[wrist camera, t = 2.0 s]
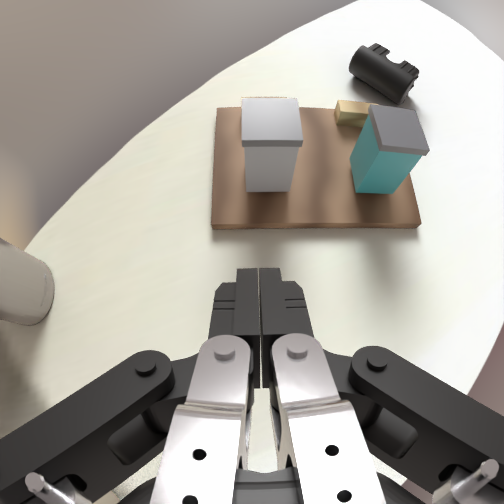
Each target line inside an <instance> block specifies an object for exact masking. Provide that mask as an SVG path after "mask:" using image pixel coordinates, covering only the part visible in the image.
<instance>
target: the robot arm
mask: <svg viewBox="0 0 504 504" xmlns="http://www.w3.org/2000/svg"><path fill="white" fill-rule="evenodd" d="M53 296H54V281H53V277H52V273H51V271H50V269H49V268H48V266H47V265H46V264H45V263H44V262H42V261H41V260H39V259H37V258H35V257H33V256H31V255H29V254H28V253H26V252H24V251H22V250H21V249H19V248H17V247H15V246H13V245H12V244H10V243H8V242H7V241H5V240H3V239H1V238H0V319H1V320H5V321H9V322H13V323H18V324H23V325H34V324H36V323H38V322H40V321H41V320H42V319H43V318H44V317H45V316H46V314H47V313H48V311H49V309H50V307H51V304H52V301H53ZM259 308H260V321H259ZM260 337H261V361H262V386H263V388H269V389H270V414H271V421H272V428H273V434H274V441H275V447H276V454H277V466H278V471H275V472H271V473H259V472H254V471H249V470H248V451H249V440H250V429H251V417H252V405H253V403H254V388H260ZM163 450H164V451H163ZM162 451H163V455H162V459H161V462H160V466H159V470H158V474H157V477H155V478H153V479H150V480H148V481H146V482H145V483H143V484H141V485H140V486H138V487H137V488H136V489H134V490H133V491H132V492H131V493H129V494H128V495H127V496H126V497H124V498H123V499H122V500H121V501H119V502H118V503H117V504H425V503H424V502H422V501H421V500H420V499H418V498H417V497H415V496H414V495H412V494H411V493H410V492H408V491H407V490H405V489H404V488H403V487H401V486H400V485H399V484H397V483H396V482H394V481H393V480H392V479H390V478H388V477H386V476H385V475H383V474H381V473H378V472H376V471H375V468H374V465H373V462H372V459H371V456H370V453H371V454H373V455H374V456H375V457H377V458H378V459H380V460H381V461H383V462H384V463H385V464H387V465H388V466H390V467H391V468H393V469H394V470H396V471H397V472H399V473H400V474H402V475H403V476H405V477H406V478H408V479H409V480H411V481H412V482H414V483H415V484H417V485H418V486H420V487H421V488H423V489H425V490H426V491H428V492H429V493H431V494H433V504H504V416H501V415H500V414H498V413H497V412H495V411H493V410H491V409H490V408H488V407H486V406H484V405H483V404H481V403H479V402H477V401H476V400H474V399H472V398H470V397H469V396H467V395H465V394H463V393H462V392H460V391H458V390H457V389H455V388H453V387H451V386H450V385H448V384H446V383H444V382H443V381H441V380H439V379H438V378H436V377H434V376H432V375H431V374H429V373H427V372H426V371H424V370H422V369H420V368H419V367H417V366H415V365H414V364H412V363H410V362H409V361H407V360H405V359H403V358H402V357H400V356H398V355H397V354H395V353H393V352H392V351H390V350H388V349H386V348H383V347H379V346H367V347H363V348H361V349H359V350H358V351H356V352H355V354H354V355H353V357H349V356H343V355H337V354H333V353H330V352H328V351H326V350H324V349H323V348H322V346H321V344H320V343H319V342H318V341H317V340H316V339H315V338H314V335H313V331H312V327H311V322H310V318H309V314H308V310H307V306H306V302H305V298H304V294H303V290H302V288H301V287H300V286H299V285H298V284H297V283H296V282H295V281H282V279H281V273H280V268H259V297H258V273H257V268H248V269H237V278H236V282H232V283H222V284H221V285H220V286H219V287H218V289H217V290H216V291H215V297H214V303H213V310H212V316H211V323H210V329H209V336H208V340H207V341H206V342H204V343H203V345H202V346H201V348H200V350H199V353H197V354H195V355H194V356H191V357H188V358H185V359H180V360H175V361H170V359H169V358H168V357H167V356H166V355H165V354H163V353H161V352H159V351H154V350H146V351H141V352H138V353H136V354H134V355H132V356H130V357H129V358H127V359H126V360H124V361H123V362H121V363H120V364H118V365H117V366H115V367H114V368H112V369H110V370H109V371H107V372H106V373H104V374H103V375H101V376H100V377H98V378H97V379H95V380H93V381H92V382H90V383H89V384H87V385H86V386H84V387H83V388H81V389H80V390H78V391H76V392H75V393H73V394H72V395H70V396H69V397H67V398H65V399H64V400H62V401H61V402H59V403H58V404H56V405H54V406H53V407H51V408H50V409H48V410H47V411H45V412H43V413H42V414H40V415H39V416H37V417H35V418H34V419H32V420H31V421H29V422H27V423H26V424H24V425H23V426H21V427H19V428H18V429H16V430H15V431H13V432H11V433H10V434H8V435H7V436H5V437H3V438H2V439H0V504H93V503H94V502H96V501H97V500H98V499H100V498H101V497H103V496H104V495H106V494H107V493H108V492H110V491H111V490H112V489H114V488H115V487H117V486H118V485H119V484H121V483H122V482H123V481H125V480H126V479H127V478H129V477H130V476H131V475H133V474H134V473H135V472H137V471H138V470H139V469H141V468H142V467H143V466H145V465H146V464H147V463H148V462H150V461H151V460H152V459H153V458H155V457H156V456H157V455H158V454H160V453H161V452H162ZM369 452H370V453H369Z"/></svg>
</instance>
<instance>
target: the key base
mask: <svg viewBox="0 0 504 504" xmlns="http://www.w3.org/2000/svg"><path fill="white" fill-rule="evenodd" d="M242 98H287V97H241V107H227V108H217V116H216V132H215V149H214V168H213V190H212V216H211V225H212V228H213V229H255V228H417V227H418V226H419V225H421V219H420V214H419V210H418V205H417V201H416V197H415V193H414V188H413V185H412V181H411V177H410V173H409V174H408V175H407V176H406V178H405V179H404V180H403V182H402V183H401V184H400V185H399V187H398V188H397V189H396V191H395V192H394V193H393V194H380V193H356V191H355V185H354V180H353V174H352V169H351V164H350V159H349V158H350V155H351V153H352V151H353V149H354V147H355V144H356V142H357V140H358V138H359V135H360V133H361V131H362V128H363V126H364V124H365V122H366V119H367V117H368V115H369V113H368V108H369V105H370V104H374V103H365V102H356V101H345V100H338V101H337V105H336V108H335V109H325V108H305V107H299V113H300V119H301V127H302V134H303V144H302V147H299V150H298V155H297V160H296V165H295V169H294V174H293V179H292V184H291V188H290V192H246V178H245V154H244V147H242ZM375 105H378V104H375Z"/></svg>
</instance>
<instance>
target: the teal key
mask: <svg viewBox="0 0 504 504" xmlns="http://www.w3.org/2000/svg"><path fill="white" fill-rule="evenodd" d="M368 113H369V115H368V117H367V119H366V122H365V124H364V126H363V128H362V131H361V133H360V135H359V138H358V140H357V142H356V144H355V147H354V149H353V151H352V153H351V155H350V158H349V159H350V164H351V169H352V174H353V180H354V185H355V191H356V193H380V194H393V193H394V192H395V191H396V189H397V188H398V187H399V185H400V184H401V183H402V182H403V180H404V179H405V178H406V176H407V175H408V174H409V173H410V171H411V170H412V169H413V167H414V166H415V165H416V163H417V162H418V161H419V159H420V158H421V157H422V155H423V156H426V155H427V153H428V152H429V151H430V150H429V147H428V144H427V141H426V138H425V135H424V133H423V130H422V127H421V125H420V122H419V119H418V117H417V114H416V112H415V110H410V109H404V108H397V107H390V106H383V105H375V104H370V105H369V108H368Z"/></svg>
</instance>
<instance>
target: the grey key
mask: <svg viewBox="0 0 504 504" xmlns="http://www.w3.org/2000/svg"><path fill="white" fill-rule="evenodd" d="M302 144H303V134H302V127H301V119H300V113H299V106H298V99H297V98H242V147H244V154H245V178H246V192H290V188H291V184H292V179H293V174H294V169H295V165H296V160H297V155H298V150H299V147H302Z"/></svg>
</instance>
